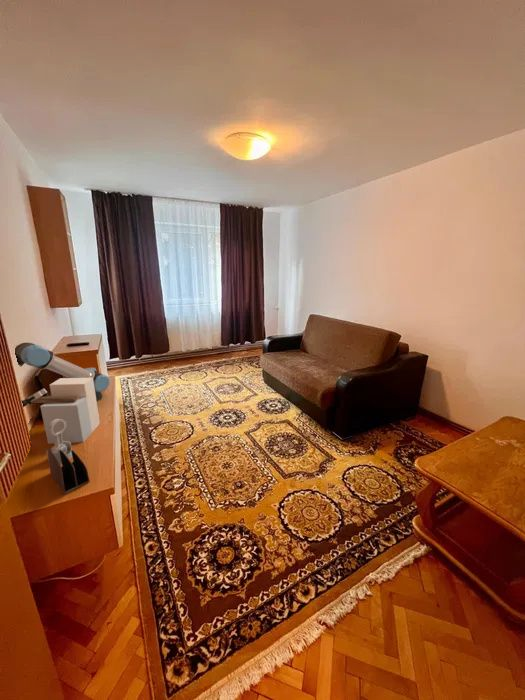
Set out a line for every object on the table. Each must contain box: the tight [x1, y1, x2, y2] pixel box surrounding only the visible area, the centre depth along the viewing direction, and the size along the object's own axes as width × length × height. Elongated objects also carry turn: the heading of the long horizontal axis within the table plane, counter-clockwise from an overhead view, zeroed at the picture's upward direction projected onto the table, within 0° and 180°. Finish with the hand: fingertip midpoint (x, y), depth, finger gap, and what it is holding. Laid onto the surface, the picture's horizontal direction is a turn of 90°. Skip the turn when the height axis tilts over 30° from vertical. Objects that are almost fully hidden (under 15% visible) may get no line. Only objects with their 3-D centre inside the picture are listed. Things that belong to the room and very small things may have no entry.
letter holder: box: [46, 448, 91, 495], centre depth 126 cm, size 10×20×14 cm, turn 49°
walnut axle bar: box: [25, 395, 77, 404], centre depth 152 cm, size 3×24×2 cm, turn 96°
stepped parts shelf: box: [39, 377, 101, 445], centre depth 159 cm, size 20×18×30 cm
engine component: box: [45, 419, 73, 464], centre depth 139 cm, size 11×20×10 cm
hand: (42, 392), depth 150 cm, fingers open, 3 cm apart
